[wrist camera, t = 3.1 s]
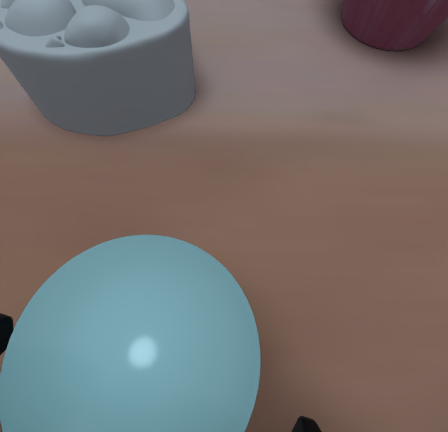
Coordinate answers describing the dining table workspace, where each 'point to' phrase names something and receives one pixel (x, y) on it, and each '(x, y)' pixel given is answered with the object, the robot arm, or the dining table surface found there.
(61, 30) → the lumpy-topped squat cylinder
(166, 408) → the aqua tapered cylinder
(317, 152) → the dining table surface
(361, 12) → the plant pot
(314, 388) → the dining table surface
